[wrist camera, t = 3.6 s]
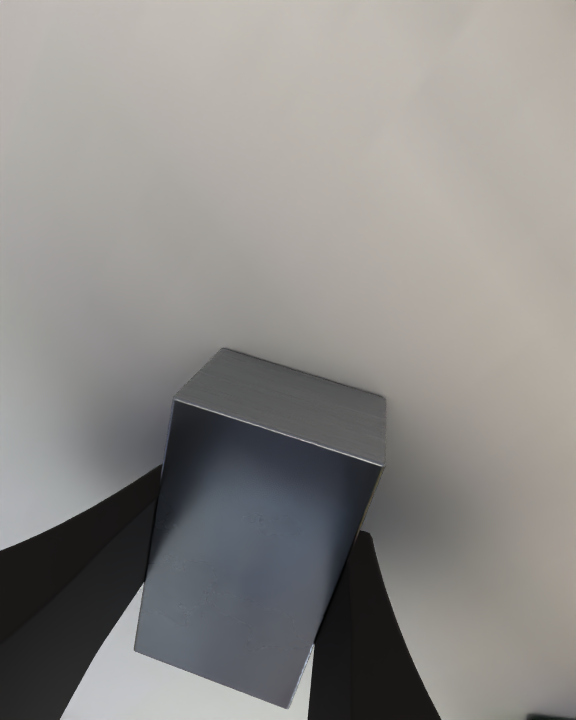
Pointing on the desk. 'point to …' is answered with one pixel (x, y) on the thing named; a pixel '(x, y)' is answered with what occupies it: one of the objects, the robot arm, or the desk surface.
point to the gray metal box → (256, 520)
